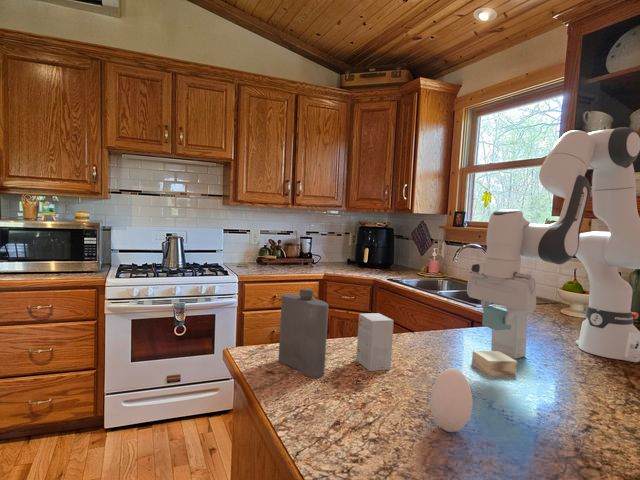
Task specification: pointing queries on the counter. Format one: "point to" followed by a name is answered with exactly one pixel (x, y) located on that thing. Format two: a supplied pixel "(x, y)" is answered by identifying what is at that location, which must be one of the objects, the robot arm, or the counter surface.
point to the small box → (374, 341)
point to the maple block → (494, 363)
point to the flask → (303, 333)
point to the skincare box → (511, 336)
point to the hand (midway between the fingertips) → (496, 321)
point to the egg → (451, 400)
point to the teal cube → (495, 318)
